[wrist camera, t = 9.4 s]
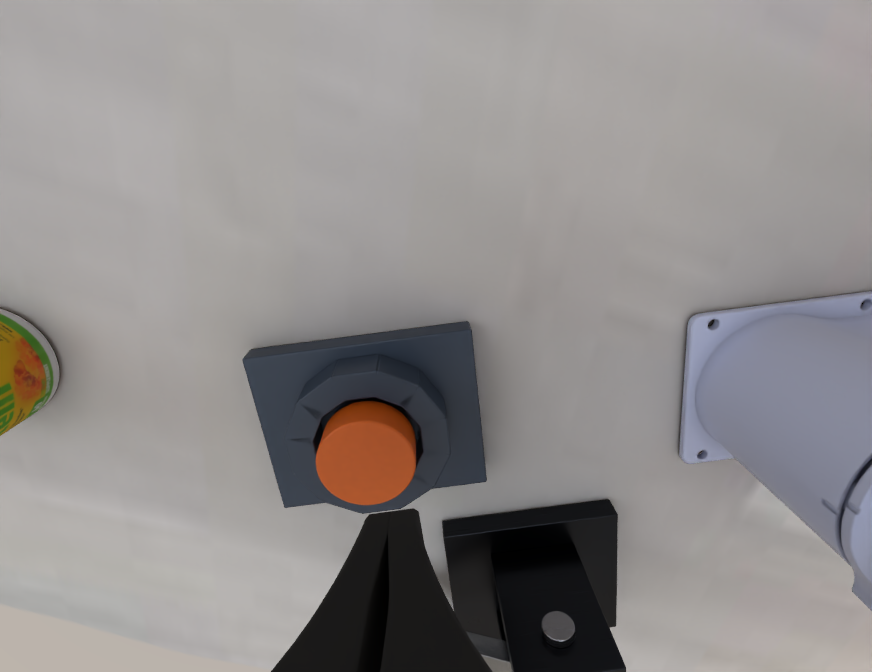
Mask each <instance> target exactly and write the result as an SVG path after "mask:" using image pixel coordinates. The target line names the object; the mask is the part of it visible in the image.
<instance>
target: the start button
mask: <svg viewBox="0 0 872 672" xmlns="http://www.w3.org/2000/svg"><path fill="white" fill-rule="evenodd" d="M415 469H416V438H415V433H414V430H413V427H412V425H411V423H410V422H409V420H408V419H407V418H406V417H405V416H404V415H403V414H402V413H401V412H400V411H398V410H397V409H395V408H394V407H392V406H390V405H387V404H385V403H381V402H376V401H361V402H356V403H352V404H349V405H347V406H345V407H343V408H341V409H340V410H338V411H337V412H336V413H335V414H334V415H333V416H332V417H331V418H330V419H329V421H328V422H327V424H326V426H325V429H324V432H323V435H322V438H321V441H320V444H319V447H318V450H317V454H316V470H317V473H318V476H319V478H320V480H321V482H322V483H323V485H324V486H325V487H326V488H327V490H328V491H330V492H331V493H332V494H333V495H335V496H336V497H338V498H340V499H341V500H343V501H346V502H349V503H353V504H358V505H375V504H381V503H384V502H387V501H389V500H391V499H393V498H395V497H397V496H398V495H399V494H401V493H402V492H403V491H404V490H405V489H406V488H407V486H408V485H409V484H410V482H411V480H412V479H413V476H414V473H415Z"/></svg>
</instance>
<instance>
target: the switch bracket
mask: <svg viewBox="0 0 872 672" xmlns="http://www.w3.org/2000/svg"><path fill="white" fill-rule="evenodd" d="M617 522H618V514H617V512H616V511H615V509H614V507H613V506H612V504H611V502H610V500H600V501H592V502H585V503H577V504H569V505H562V506H554V507H546V508H539V509H531V510H523V511H516V512H508V513H500V514H493V515H485V516H477V517H470V518H462V519H454V520H447V521H443V522H442V525H443V537H444V544H445V551H446V558H447V565H448V571H449V578H450V585H451V592H452V599H453V606H454V612H455V615H456V616H457V618H458V620H459V622H460V623H461V625H462V627H463V628H464V630H465V631H469V632H473V633H477V634H481V635H485V636H489V637H493V638H497V639H501V640H505V641H506V643H507V648H508V653H509V658H510V663H511V669H512V672H626V666H625V664H624V662H623V659H622V657H621V655H620V652H619V650H618V647H617V645H616V643H615V640H614V638H613V635H612V633H611V631H610V628H609V627H615V626H616V595H617Z"/></svg>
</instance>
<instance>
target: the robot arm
mask: <svg viewBox="0 0 872 672" xmlns="http://www.w3.org/2000/svg"><path fill="white" fill-rule="evenodd" d="M863 301H864V304H863V305H862V306H861V303H862V302H863ZM713 319H714V323H713V325H712V326H710V327H708V323H709V322H710V321H711V320H713ZM702 450H703V452H702V453H701V454H698V453H699V452H700V451H702ZM679 455H680V457H681V459H682V460H683V461H684V462H685V463H687V464H694V463H702V462H709V461H717V460H725V459H732V458H735V459H736V460H738V461H739V462H740V463H741V464H742V465H743V466H744V467H745V468H746V469H747V470H748V471H749V472H750V473H751V474H753V475H754V476H755V477H756V478H757V479H758V480H759V481H760V482H761V483H762V484H763V485H764V486H765V487H767V488H768V489H769V490H770V491H771V492H772V493H773V494H774V495H775V496H776V497H777V498H778V499H779V500H781V501H782V502H783V503H784V504H785V505H786V506H787V507H788V508H789V509H790V510H791V511H792V512H793V513H794V514H796V515H797V516H798V517H799V518H800V519H801V520H802V521H803V522H804V523H805V524H806V525H807V526H808V527H810V528H811V529H812V530H813V531H814V532H815V533H816V534H817V535H818V536H819V537H820V538H821V539H822V540H823V541H825V542H826V543H827V544H828V545H829V546H830V547H831V548H832V549H833V550H834V551H835V552H836V553H837V554H839V555H840V556H841V557H842V558H843V559H844V560H845V561H846V562H847V563H848V564H849V565H850V566H851V567H852V568H853V570H854V576H855V579H854V584H853V587H852V592H853V593H854V594H855V595H856V596H857V597H858V598H859V599H860V600H861V601H862V602H863V603H864V604H865V605H866V606H867V607H868V608H869V609H870V610H871V611H872V291H868V292H860V293H852V294H845V295H837V296H829V297H822V298H814V299H806V300H798V301H791V302H783V303H775V304H768V305H760V306H752V307H744V308H737V309H729V310H721V311H714V312H706V313H699V314H696V315H694V316H692V317H691V318H690V320H689V322H688V327H687V342H686V357H685V372H684V388H683V403H682V418H681V433H680V448H679ZM271 672H493V671H492V670H491V669H490V667H489V666H488V664H487V663H486V661H485V660H484V658H483V657H482V656H481V654H480V653H479V651H478V650H477V648H476V647H475V645H474V644H473V643H472V641H471V640H470V638H469V636H468V635H467V633H466V631H465V630H464V628H463V627H462V625H461V623H460V622H459V620H458V618H457V616H456V615H455V613H454V611H453V609H452V607H451V606H450V604H449V602H448V600H447V598H446V596H445V594H444V592H443V590H442V588H441V585H440V583H439V581H438V579H437V577H436V574H435V572H434V570H433V567H432V565H431V562H430V560H429V557H428V554H427V552H426V549H425V546H424V540H423V534H422V529H421V523H420V517H419V512H418V511H417V510H415V509H407V510H399V511H392V512H384V513H377V514H369V516H368V517H367V518H366V520H365V522H364V524H363V527H362V529H361V531H360V533H359V536H358V538H357V540H356V542H355V544H354V546H353V548H352V550H351V552H350V554H349V556H348V558H347V560H346V561H345V563H344V565H343V567H342V569H341V571H340V573H339V574H338V576H337V578H336V580H335V581H334V583H333V585H332V586H331V588H330V590H329V591H328V593H327V595H326V596H325V598H324V599H323V601H322V603H321V604H320V606H319V608H318V609H317V611H316V612H315V614H314V615H313V617H312V618H311V620H310V621H309V623H308V624H307V625H306V627H305V628H304V630H303V631H302V632H301V634H300V635H299V636H298V638H297V639H296V641H295V642H294V643H293V645H292V646H291V647H290V648H289V650H288V651H287V652H286V653H285V655H284V656H283V657H282V658H281V660H280V661H279V662H278V664H277V665H276V666H275V667H274V668H273V670H272V671H271Z"/></svg>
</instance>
